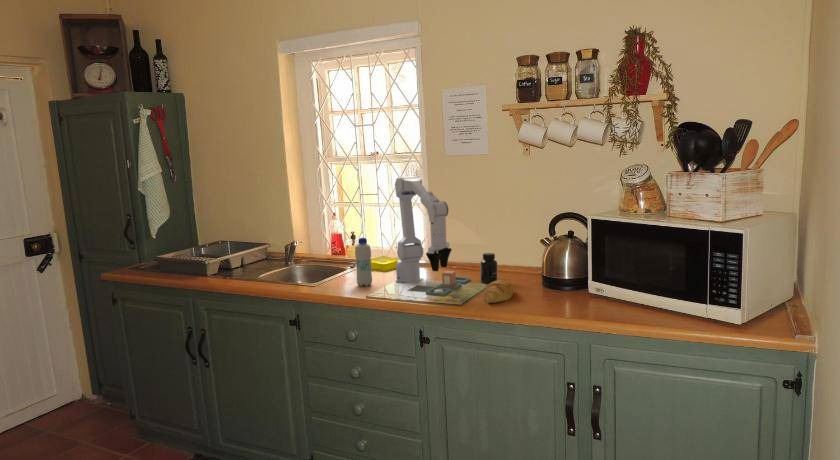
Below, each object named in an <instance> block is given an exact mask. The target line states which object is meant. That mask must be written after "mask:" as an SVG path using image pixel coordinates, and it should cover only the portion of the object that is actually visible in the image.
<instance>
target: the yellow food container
mask: <svg viewBox="0 0 840 460" xmlns="http://www.w3.org/2000/svg"><path fill="white" fill-rule="evenodd" d="M399 260H400V259H399V258H398V256H397V257H396V256H388V255H381V256H378V257H377V256H376V257H373V258H371V271H375V272H380V273H381V272H383V273H384V272H385V273H386V272H390V271H394V270H396V265H397V262H398V261H399Z"/></svg>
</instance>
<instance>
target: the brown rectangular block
mask: <svg viewBox="0 0 840 460" xmlns="http://www.w3.org/2000/svg"><path fill="white" fill-rule="evenodd" d="M441 277H442V283H441V284H443V286H450V287H454V286H455V285H456V277H457V276H456V271H454V270H445V271H443V272H441Z"/></svg>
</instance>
